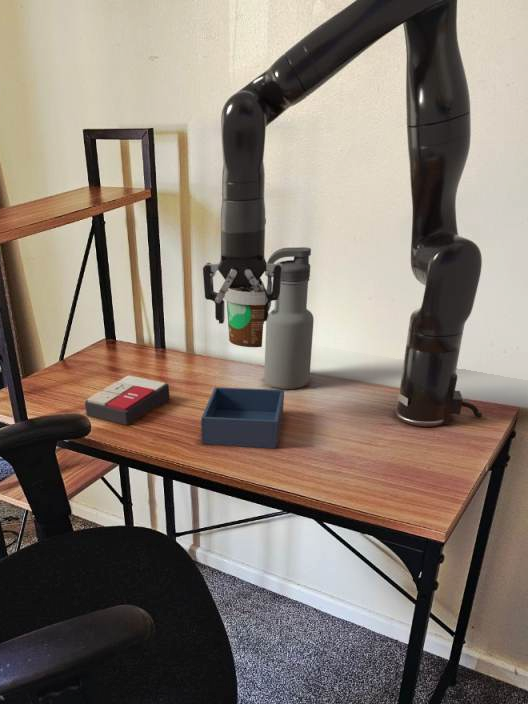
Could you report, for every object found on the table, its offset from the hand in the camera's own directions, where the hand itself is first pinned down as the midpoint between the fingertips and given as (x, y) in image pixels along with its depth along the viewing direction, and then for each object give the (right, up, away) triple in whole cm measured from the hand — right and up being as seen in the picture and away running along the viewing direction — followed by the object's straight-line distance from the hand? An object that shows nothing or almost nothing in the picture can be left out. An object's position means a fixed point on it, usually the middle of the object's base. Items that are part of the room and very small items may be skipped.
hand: (241, 322), depth 129 cm
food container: (0, -3, +2) cm, 4 cm away
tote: (+1, -19, +7) cm, 20 cm away
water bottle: (+13, -6, +26) cm, 30 cm away
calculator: (-21, -13, +19) cm, 31 cm away
